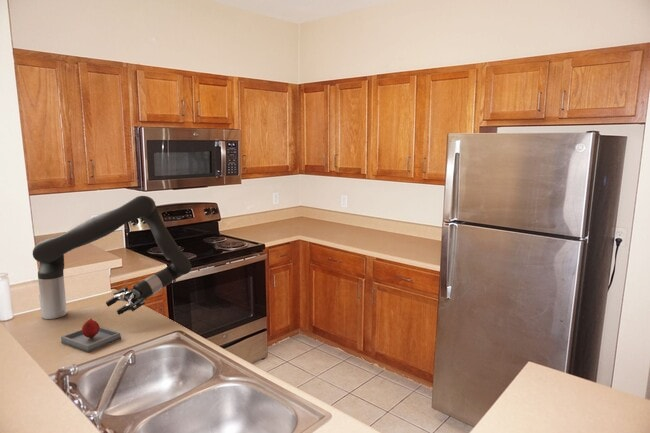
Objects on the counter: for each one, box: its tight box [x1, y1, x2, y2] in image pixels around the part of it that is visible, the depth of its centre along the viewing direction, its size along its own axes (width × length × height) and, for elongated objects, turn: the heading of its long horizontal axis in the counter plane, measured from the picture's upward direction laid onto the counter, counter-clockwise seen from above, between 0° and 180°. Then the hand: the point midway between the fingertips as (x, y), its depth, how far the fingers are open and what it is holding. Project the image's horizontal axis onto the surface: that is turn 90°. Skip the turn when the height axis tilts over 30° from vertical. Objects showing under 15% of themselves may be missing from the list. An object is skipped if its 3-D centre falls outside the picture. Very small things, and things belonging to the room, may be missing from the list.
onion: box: [81, 317, 101, 338], centre depth 162 cm, size 6×6×8 cm
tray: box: [60, 325, 122, 354], centre depth 162 cm, size 16×13×2 cm
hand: (112, 308), depth 173 cm, fingers open, 8 cm apart
